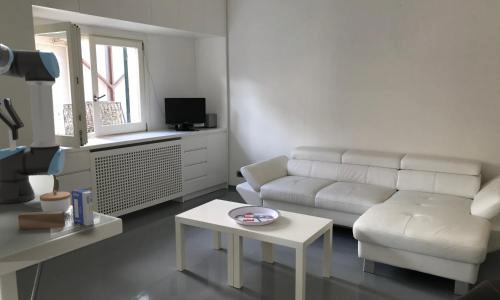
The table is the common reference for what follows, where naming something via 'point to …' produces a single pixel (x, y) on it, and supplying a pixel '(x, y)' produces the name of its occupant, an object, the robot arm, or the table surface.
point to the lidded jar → (55, 201)
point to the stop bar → (41, 220)
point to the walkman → (82, 207)
